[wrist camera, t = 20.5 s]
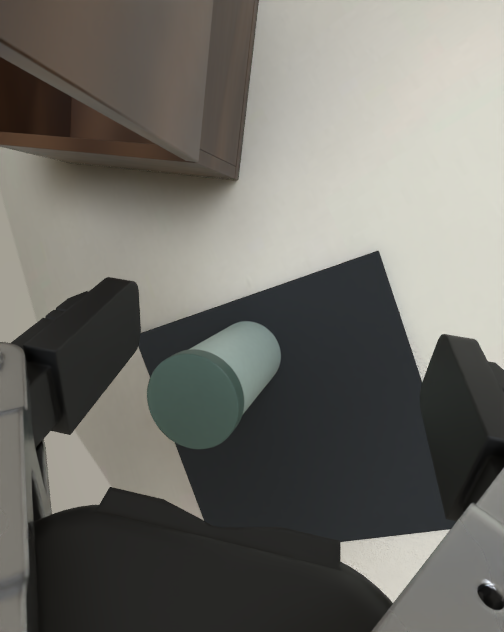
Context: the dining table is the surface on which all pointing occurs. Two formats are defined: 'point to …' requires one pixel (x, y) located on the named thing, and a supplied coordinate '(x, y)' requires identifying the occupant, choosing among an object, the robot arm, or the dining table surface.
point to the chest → (122, 143)
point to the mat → (319, 413)
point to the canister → (212, 384)
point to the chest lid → (120, 60)
